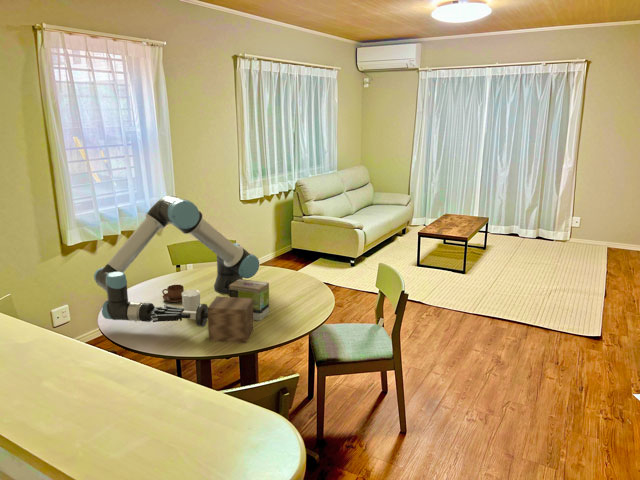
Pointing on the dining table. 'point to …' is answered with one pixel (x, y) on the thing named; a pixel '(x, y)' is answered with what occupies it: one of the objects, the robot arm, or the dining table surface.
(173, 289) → the cup and saucer
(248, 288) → the tea box
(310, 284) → the dining table surface
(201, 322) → the plunger
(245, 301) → the brown wooden open box
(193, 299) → the white cup
